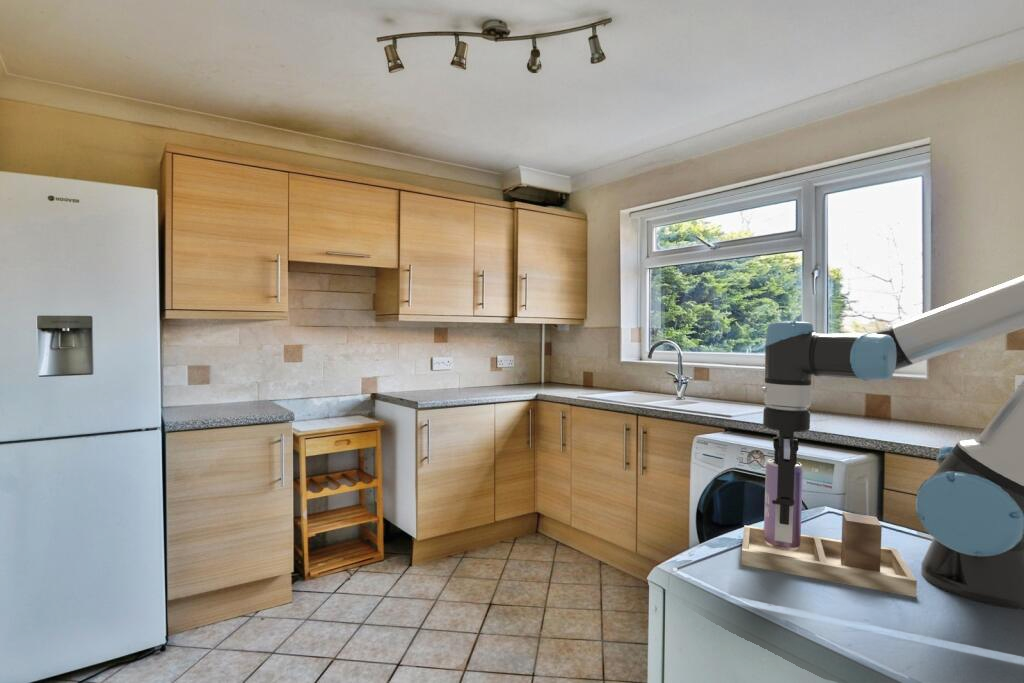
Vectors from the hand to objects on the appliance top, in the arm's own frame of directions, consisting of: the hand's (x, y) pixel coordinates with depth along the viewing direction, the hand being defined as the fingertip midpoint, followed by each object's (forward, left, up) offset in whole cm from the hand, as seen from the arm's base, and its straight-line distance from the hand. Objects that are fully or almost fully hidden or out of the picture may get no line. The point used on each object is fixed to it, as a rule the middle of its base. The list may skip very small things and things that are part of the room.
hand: (782, 534), depth 98 cm
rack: (-6, 0, -5) cm, 8 cm away
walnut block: (-12, 0, -4) cm, 13 cm away
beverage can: (0, 0, -2) cm, 2 cm away
